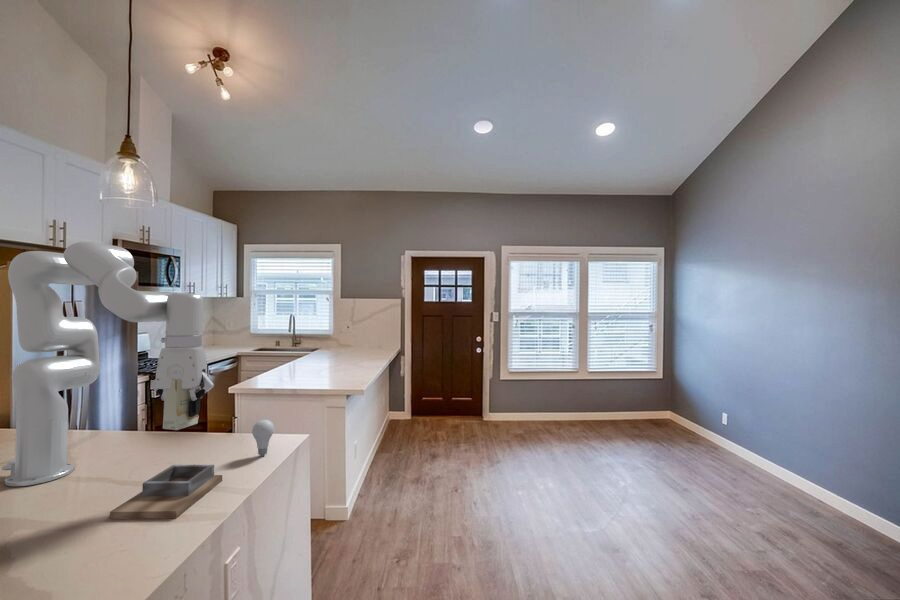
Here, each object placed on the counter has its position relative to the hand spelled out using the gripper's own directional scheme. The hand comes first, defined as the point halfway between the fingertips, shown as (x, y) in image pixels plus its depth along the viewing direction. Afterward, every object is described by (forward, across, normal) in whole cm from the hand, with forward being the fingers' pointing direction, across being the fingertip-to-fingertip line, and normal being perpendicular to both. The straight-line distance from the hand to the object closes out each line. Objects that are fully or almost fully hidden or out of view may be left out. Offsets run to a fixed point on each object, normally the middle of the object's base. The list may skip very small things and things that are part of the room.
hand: (181, 414), depth 95 cm
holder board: (+19, 0, -3) cm, 19 cm away
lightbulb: (+19, +10, +23) cm, 32 cm away
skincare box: (+3, 0, 0) cm, 3 cm away
